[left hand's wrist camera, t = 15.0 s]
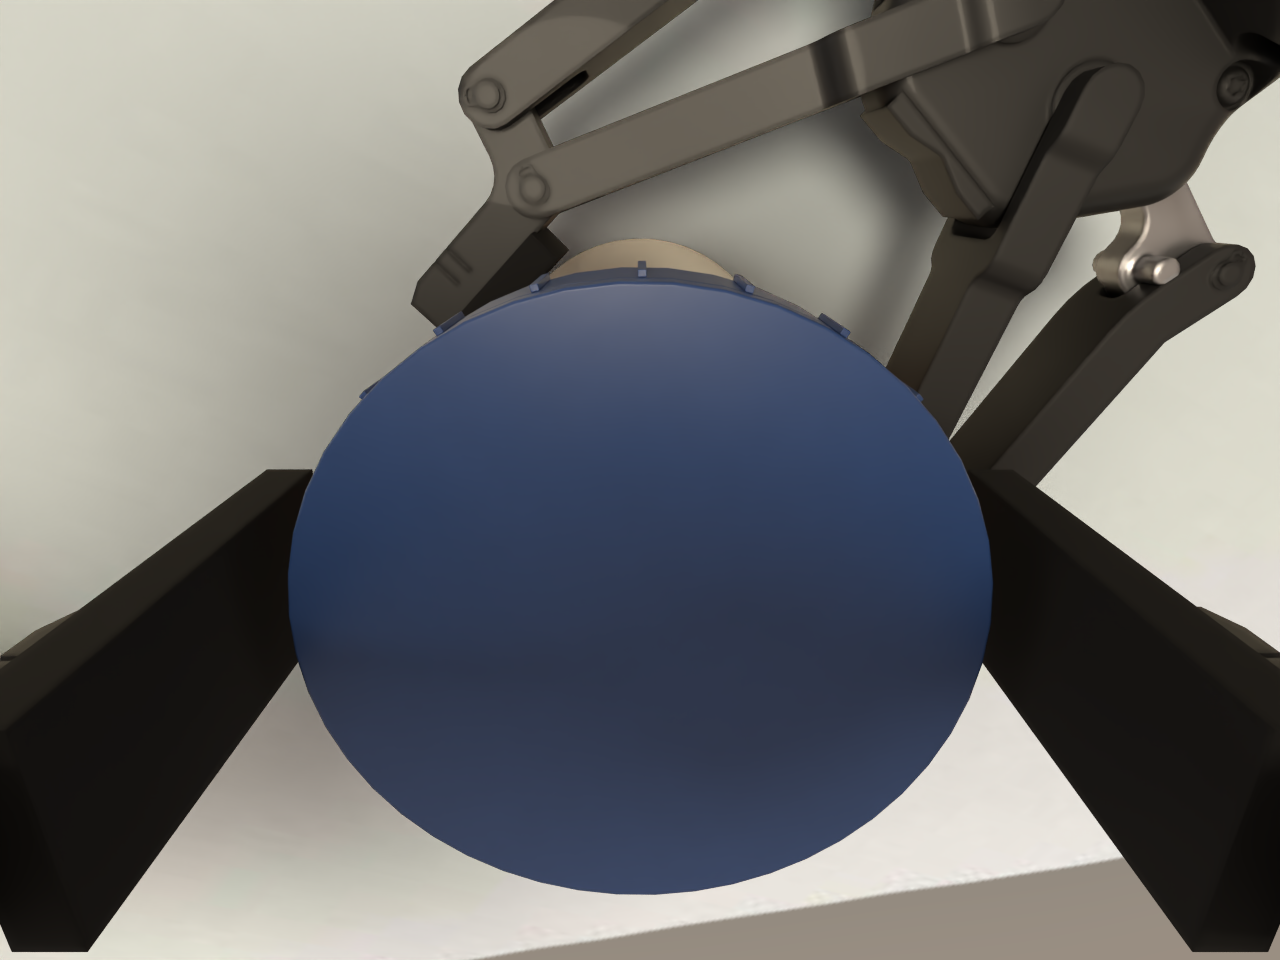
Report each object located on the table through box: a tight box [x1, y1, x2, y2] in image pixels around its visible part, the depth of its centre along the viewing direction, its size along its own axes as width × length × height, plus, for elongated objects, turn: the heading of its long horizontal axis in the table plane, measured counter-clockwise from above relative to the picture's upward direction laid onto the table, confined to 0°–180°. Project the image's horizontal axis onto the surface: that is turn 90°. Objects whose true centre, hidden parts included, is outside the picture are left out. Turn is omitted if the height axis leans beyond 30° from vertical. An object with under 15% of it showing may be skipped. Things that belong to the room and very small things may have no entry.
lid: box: [288, 261, 993, 895], centre depth 11 cm, size 10×10×2 cm
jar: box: [550, 239, 734, 280], centre depth 18 cm, size 9×9×15 cm
